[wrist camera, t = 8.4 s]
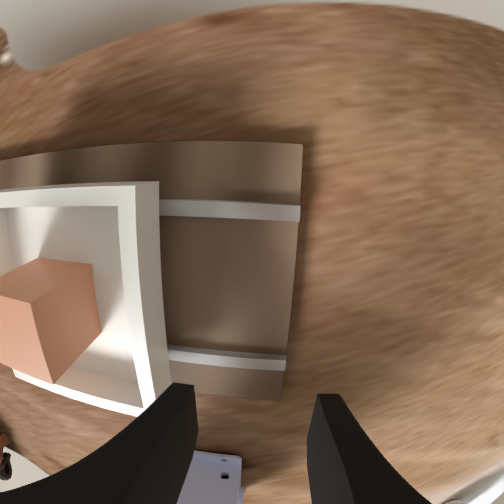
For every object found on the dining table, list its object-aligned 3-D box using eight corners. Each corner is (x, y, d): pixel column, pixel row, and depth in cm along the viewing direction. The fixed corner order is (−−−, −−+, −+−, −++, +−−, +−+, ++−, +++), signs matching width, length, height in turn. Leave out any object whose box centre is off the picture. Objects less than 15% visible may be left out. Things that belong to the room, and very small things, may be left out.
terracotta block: (91, 264, 14) (30, 303, 10) (101, 332, 15) (53, 384, 11) (37, 257, 15) (-23, 288, 10) (49, 320, 16) (-1, 362, 11)
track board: (301, 145, 16) (306, 141, 13) (280, 391, 20) (280, 420, 17) (-44, 171, 18) (-66, 175, 15) (-18, 328, 22) (-36, 341, 19)
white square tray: (170, 179, 15) (135, 185, 11) (179, 376, 18) (159, 421, 14) (20, 186, 16) (-25, 195, 12) (46, 347, 19) (15, 376, 15)
